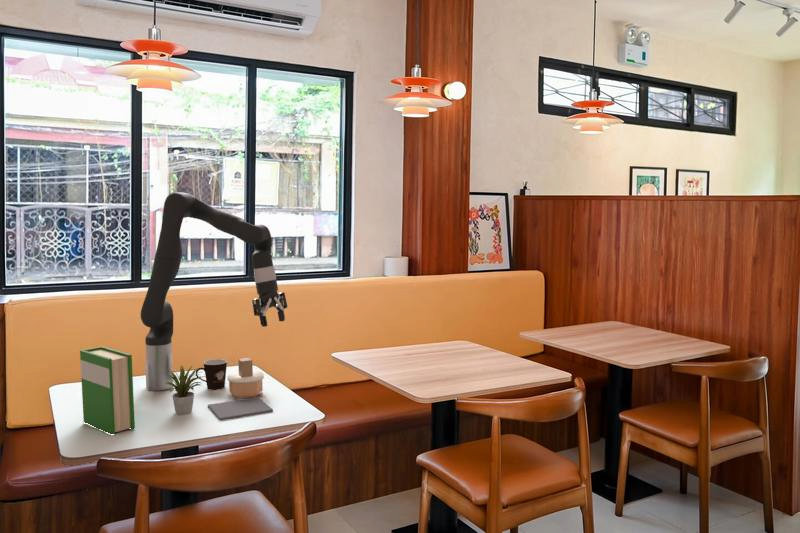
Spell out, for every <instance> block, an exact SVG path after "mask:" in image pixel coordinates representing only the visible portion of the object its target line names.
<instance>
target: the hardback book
mask: <svg viewBox="0 0 800 533" xmlns="http://www.w3.org/2000/svg"><path fill="white" fill-rule="evenodd" d="M79 355H80V356H79V359H80V372H81V374H80V379H81V396H82V399H81V400H82V412H83V413H82V414H83V418H82V419H83V423H84V422H85V423H88V424H90V425H92V426H94V427H96V428H98V429H101V430H103V431H105V432H108V433H110V434H115V435H116V433H119V432H122V431H124V430H130V429H129V428H131V429H134V428H135V429H136V426H135V425H136V423H135V405H134V404H135V403H134V402H135V401H134V381H133V380H134V379H133V377H134V376H133V356H132V354H131V353H127V352H124V351H120V350H116V349H113V348H110V347H106V346H104V345H102V346H98V347H97V346H96V347H91V348H87V349H81V350H79Z"/></svg>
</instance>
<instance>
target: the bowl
mask: <svg viewBox="0 0 800 533" xmlns="http://www.w3.org/2000/svg"><path fill="white" fill-rule="evenodd" d="M228 383H229V384H228V385H229V390H228V391H229V393H231V395H232V397H234V398H236V397H237V398H238V399H248V398H250V397H251V398H254V397H259V395H261V392H263V391H264V390H263V379H262V380H260V381H256V382H251V383H233V382H230V381H228ZM237 398H236V399H237Z"/></svg>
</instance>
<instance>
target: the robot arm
mask: <svg viewBox="0 0 800 533" xmlns="http://www.w3.org/2000/svg"><path fill="white" fill-rule="evenodd" d="M161 218H162V219H161V227H160V232H159V235H158V236H159V237H158V242H157V246H156V251H155V255H154V260H153V264H152V270H151V275H150V278H149V279H150V280H149V283H148V288H147V291H146V294H145V297H144V301H143V303H142V307H141V309H140V320H141V322H142V324H143V325H144V326H146V327H147V328H149V331H148V333H147V334H146V336H145V340H144V341H145V342H144V343H145V360H146V362H145V387H146V389H147V390H148V391H149V392H150V391H155V392H156V391H158V392H159V391H165V390H169V389H170V387H172V388H174V387H173V386H172V385H169V384H165V383H167V382H172V383H173V384H174V382H173V381H174V380H173V379H172V378H171V377H170V376H172V373H171V372H170V371H173V353H172V349H173V348H172V345H173V344H172V338H173V334H174V310H173V307H172V305H171V304H170V302H168V301H166V298H167V294H168V291H169V290H170V288H171V286H172V285H173V282H175V281H174V280H176V277H177V275H178V273H179V270H180V267H181V263H182V256H183V248H182V247H183V246H182V242H181V228H182V223H183V220H184V218H191V219H196V220H200V221H203V222H205V223H207V224H209V225H211V226H212V227H213V228H215V229H216V230H218V231H220V232H223V233H225V234H227V235H231V236H233V237H236V238H237V239H239V240H241V241H242V242H244V243H246V244H249V245H252V246H254V247H253V250H254V252H253V253H252V255H251V261H252V262H251V263H252V267H253V276H254V282H255V288H256V289H255V290H256V292H257V293H256V294H257V295H258V298H253V299H252V300H251V302H252V308H253V314H254V315H253V316H256V317H259V321H260V325H261V327H264V328H265V327H268V321H267V316H266V314H267V311H269V309H270V308H275V309H276V310H277V315H278V316H277V317H278V321H279V322H285V320H286V319H285V318H286V317H285V312H284V311H285V309H287V308H288V303H287V302H288V301H287V299H286V295H285V294H286V293H285V292H283V291H282V292H278V291H279V286H278V282H277V276H276V271H275V268H274V263H273V257H272V235H271V232H270V229H269V228H268V227H267V226H266V225H264V224H252V223H249V222H247V221H245V219H243V218H242V217H240V216H237V215H235V214H232V213H229V212H227V211H225V210H224V211H223V210H221V209H219V208H215V207H213V206H212V205H209V204H208V203H206V202H204V201H202V200H200V199H199V198H197V197H195V196H193V195H192V194H191V193H188V192H181V191H180V192H171V193H170V194H168V195H167V196H166V198H165V200H164V202H163V210H162V217H161ZM168 373H169V374H168ZM170 374H171V375H170ZM166 375H170V376H169V377H170V378H171V379H172V380H173V381H172V380H171V379H170V378H169V377H168V376H166Z"/></svg>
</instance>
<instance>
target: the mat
mask: <svg viewBox="0 0 800 533" xmlns="http://www.w3.org/2000/svg"><path fill="white" fill-rule="evenodd" d="M207 408H208V409H209V410H210V411H211V412H212V413H213V414H214V416H215V417H216V418H217V420H219V421H220V420H221V421H226V420H230V419H238V418H244V416H245V417H250V415H251V416H256V415H262V413H263V414H266V413H273V412H274V409H273V408H272V407H271V406H270V405H268V404H267V403H266V402H265V401H264V400H263V399H262V398H260V397H259V396H255V397H251V398H240V399H237V400H235V399H234V400H229V401H224V402H218V403H210V404H207Z"/></svg>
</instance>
